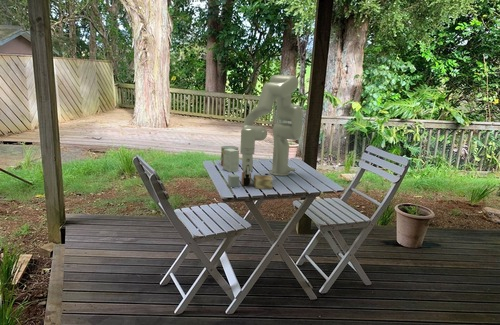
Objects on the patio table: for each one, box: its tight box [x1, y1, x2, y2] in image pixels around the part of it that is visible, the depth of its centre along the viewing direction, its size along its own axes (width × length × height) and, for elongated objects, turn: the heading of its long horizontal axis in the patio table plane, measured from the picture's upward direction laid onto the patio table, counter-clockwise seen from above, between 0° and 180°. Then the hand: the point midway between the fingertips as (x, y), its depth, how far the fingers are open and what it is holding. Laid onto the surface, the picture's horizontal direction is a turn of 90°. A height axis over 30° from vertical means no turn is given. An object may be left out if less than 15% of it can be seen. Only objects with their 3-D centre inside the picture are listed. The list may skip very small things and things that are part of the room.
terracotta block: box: [241, 171, 252, 186], centre depth 203 cm, size 4×4×6 cm
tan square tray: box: [253, 174, 274, 190], centre depth 201 cm, size 9×9×5 cm
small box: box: [222, 149, 240, 173], centre depth 233 cm, size 8×6×13 cm
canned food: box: [220, 145, 239, 167], centre depth 246 cm, size 11×11×12 cm
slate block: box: [227, 174, 240, 188], centre depth 198 cm, size 4×4×6 cm
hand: (246, 183), depth 204 cm, fingers closed on terracotta block, 4 cm apart
